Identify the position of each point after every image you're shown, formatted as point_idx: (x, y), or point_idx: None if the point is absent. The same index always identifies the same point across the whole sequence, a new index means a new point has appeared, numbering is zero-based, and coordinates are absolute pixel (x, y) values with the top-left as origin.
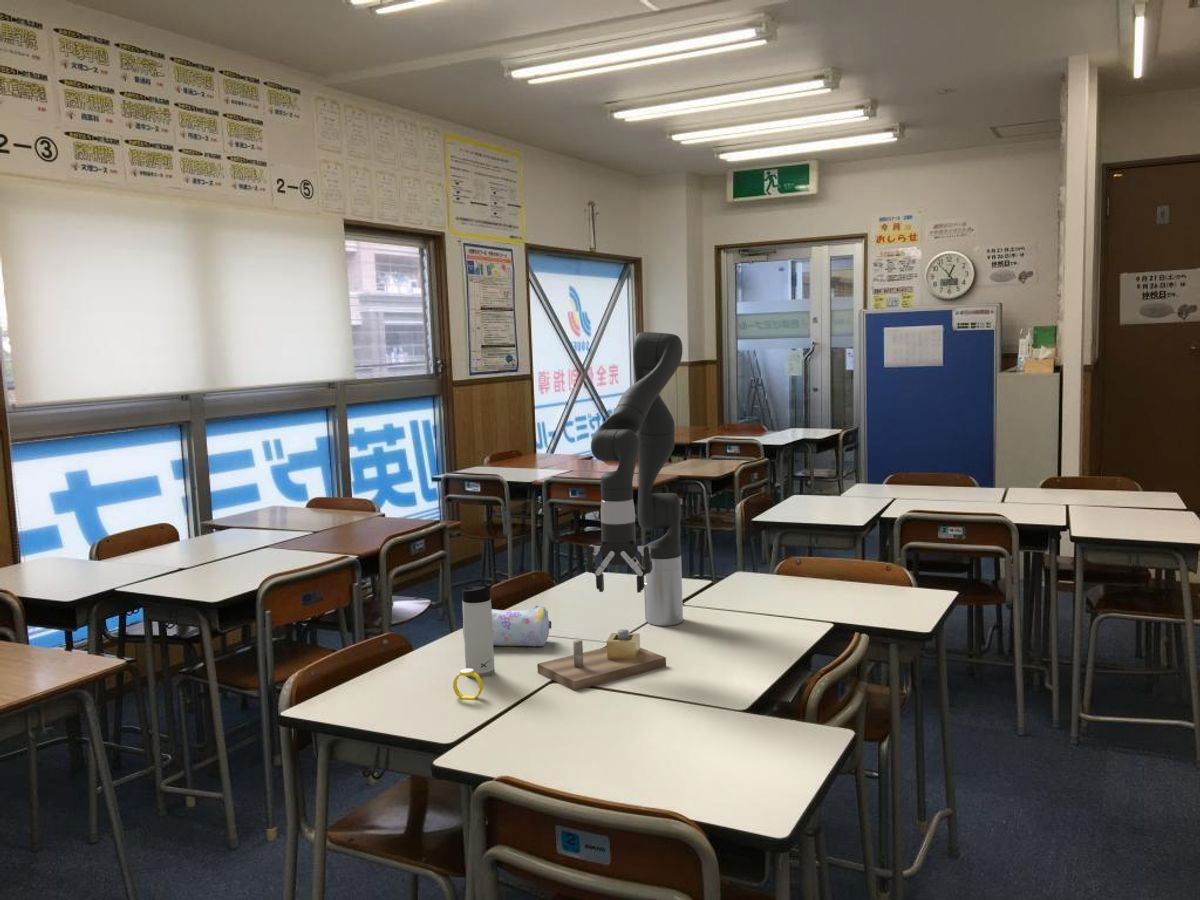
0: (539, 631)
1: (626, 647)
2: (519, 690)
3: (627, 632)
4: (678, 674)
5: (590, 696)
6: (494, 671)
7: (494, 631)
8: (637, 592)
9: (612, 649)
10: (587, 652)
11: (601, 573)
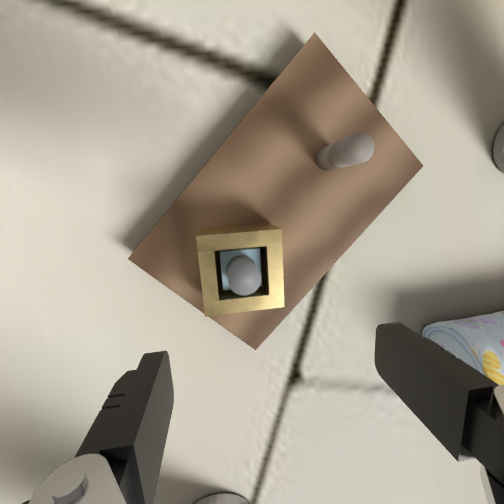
0: (459, 329)
1: (223, 231)
2: (426, 38)
3: (228, 273)
4: (86, 200)
5: (259, 5)
6: (495, 149)
7: None
8: (166, 352)
9: (261, 227)
10: (326, 264)
11: (485, 432)
